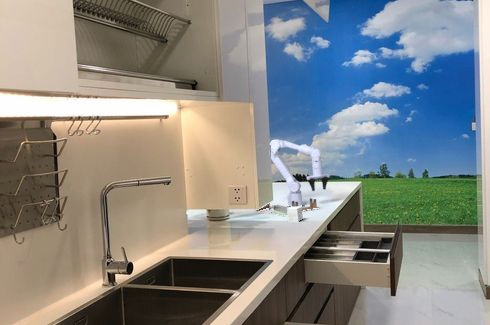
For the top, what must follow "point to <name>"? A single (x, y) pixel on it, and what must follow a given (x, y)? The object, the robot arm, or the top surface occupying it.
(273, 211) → the mat
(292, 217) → the product box
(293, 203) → the stand
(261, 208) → the food container
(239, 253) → the top surface
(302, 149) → the robot arm
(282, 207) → the rail
